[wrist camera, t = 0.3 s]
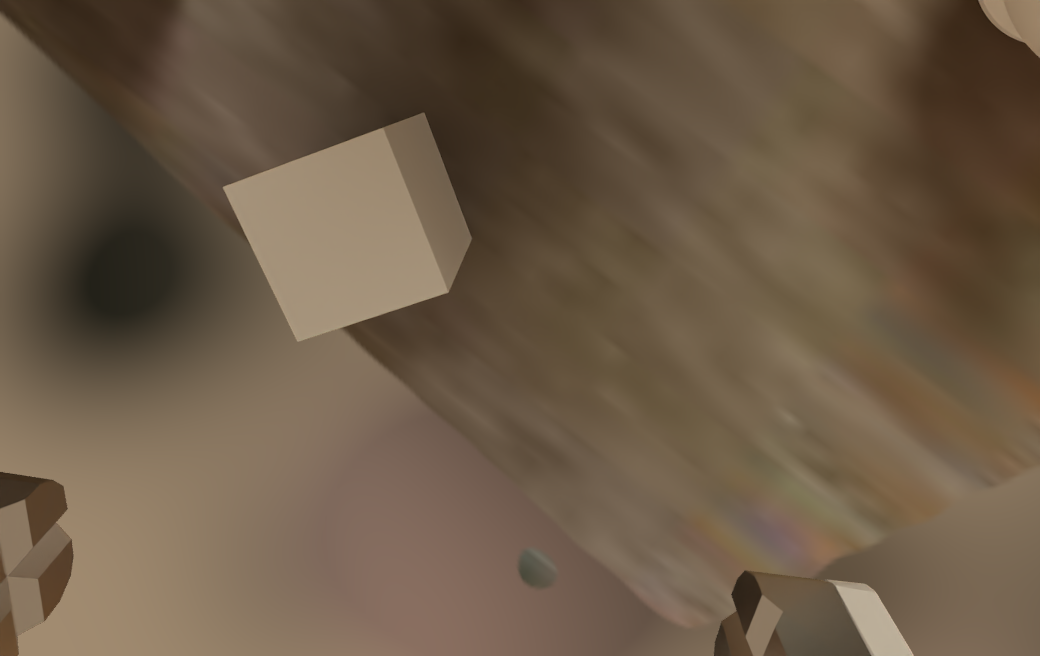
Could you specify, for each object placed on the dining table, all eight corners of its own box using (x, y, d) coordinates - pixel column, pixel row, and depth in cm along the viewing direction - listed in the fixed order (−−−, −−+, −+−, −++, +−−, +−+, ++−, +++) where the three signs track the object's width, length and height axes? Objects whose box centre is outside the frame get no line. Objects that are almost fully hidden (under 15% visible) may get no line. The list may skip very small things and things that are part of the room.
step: (301, 157, 54) (222, 187, 41) (424, 112, 52) (383, 127, 39) (355, 278, 57) (297, 342, 44) (472, 238, 56) (448, 292, 42)
